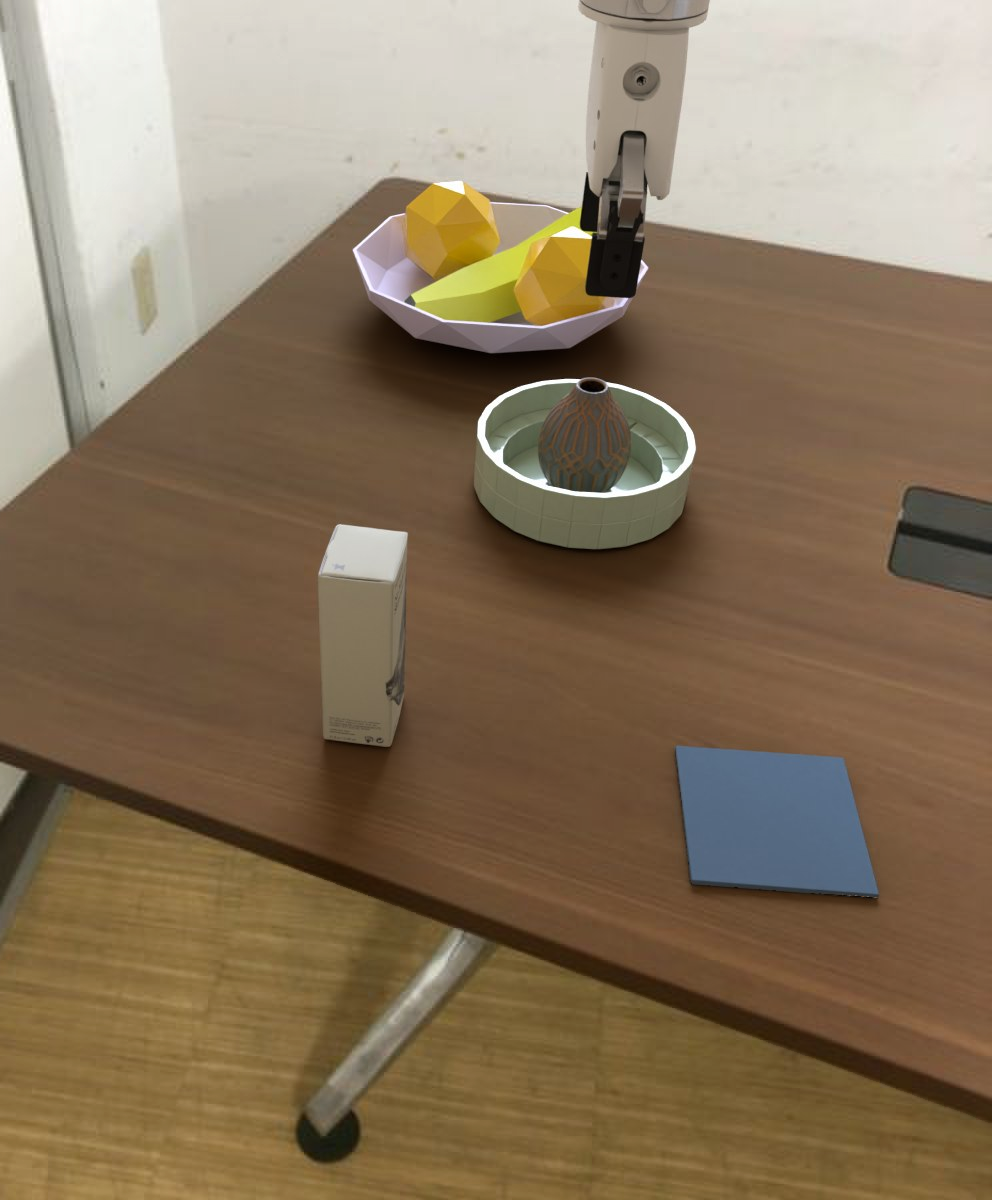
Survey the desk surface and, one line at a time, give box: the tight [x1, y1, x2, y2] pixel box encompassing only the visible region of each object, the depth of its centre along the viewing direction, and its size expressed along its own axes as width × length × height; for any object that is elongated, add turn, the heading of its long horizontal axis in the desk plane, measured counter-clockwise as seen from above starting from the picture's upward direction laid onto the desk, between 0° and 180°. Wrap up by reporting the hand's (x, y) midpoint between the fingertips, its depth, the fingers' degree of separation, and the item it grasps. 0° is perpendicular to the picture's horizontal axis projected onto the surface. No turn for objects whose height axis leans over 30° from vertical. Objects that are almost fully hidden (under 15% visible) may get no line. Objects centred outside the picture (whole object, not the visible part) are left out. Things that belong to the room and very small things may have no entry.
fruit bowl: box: [352, 180, 649, 354], centre depth 114 cm, size 28×27×11 cm
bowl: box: [473, 378, 697, 550], centre depth 95 cm, size 16×16×5 cm
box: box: [317, 523, 409, 748], centre depth 73 cm, size 5×4×13 cm
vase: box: [538, 377, 631, 493], centre depth 93 cm, size 7×7×9 cm
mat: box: [674, 745, 880, 898], centre depth 71 cm, size 10×10×1 cm
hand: (605, 261), depth 83 cm, fingers open, 9 cm apart
